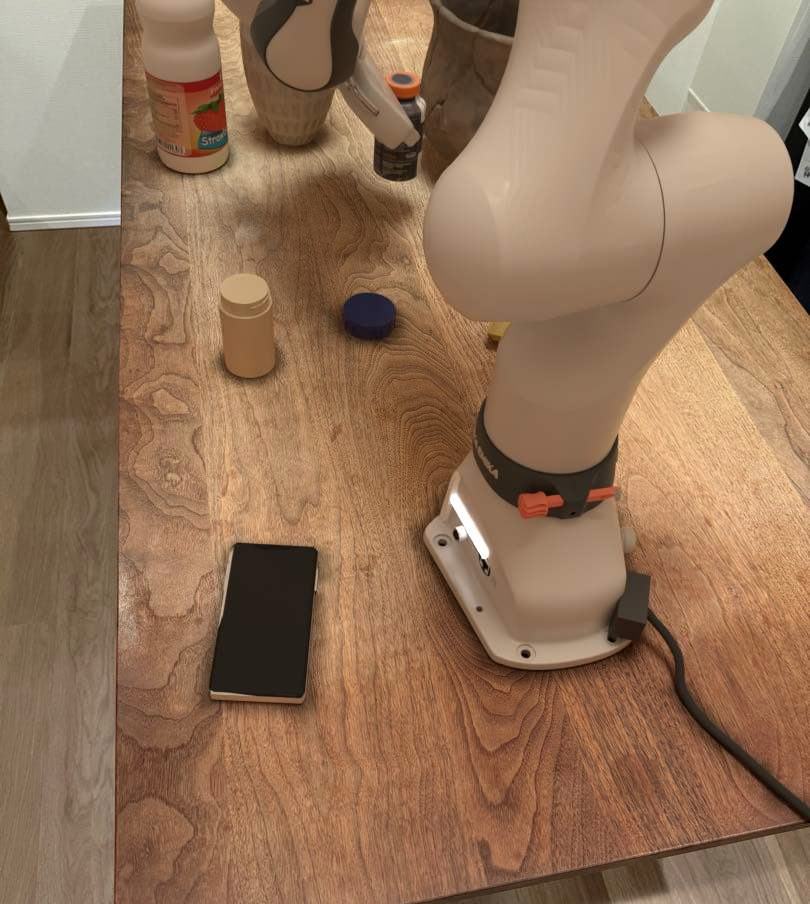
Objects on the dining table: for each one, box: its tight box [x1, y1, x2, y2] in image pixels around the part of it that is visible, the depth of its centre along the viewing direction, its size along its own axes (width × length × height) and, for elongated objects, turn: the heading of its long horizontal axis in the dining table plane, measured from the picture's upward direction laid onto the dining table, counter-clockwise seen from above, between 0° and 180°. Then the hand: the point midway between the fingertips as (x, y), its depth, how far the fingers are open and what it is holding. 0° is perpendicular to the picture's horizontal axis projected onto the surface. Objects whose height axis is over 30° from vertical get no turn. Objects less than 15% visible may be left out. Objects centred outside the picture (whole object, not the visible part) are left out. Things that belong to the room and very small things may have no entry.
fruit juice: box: [134, 0, 230, 174], centre depth 106 cm, size 9×9×28 cm
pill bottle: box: [372, 70, 426, 183], centre depth 105 cm, size 6×6×11 cm
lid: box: [341, 291, 397, 341], centre depth 99 cm, size 6×6×2 cm
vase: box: [238, 19, 336, 147], centre depth 111 cm, size 13×13×28 cm
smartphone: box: [208, 542, 319, 705], centre depth 75 cm, size 8×1×15 cm
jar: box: [217, 272, 276, 379], centre depth 91 cm, size 5×5×10 cm
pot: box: [419, 0, 519, 165], centre depth 114 cm, size 25×24×21 cm
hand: (404, 123), depth 105 cm, fingers closed on pill bottle, 6 cm apart
